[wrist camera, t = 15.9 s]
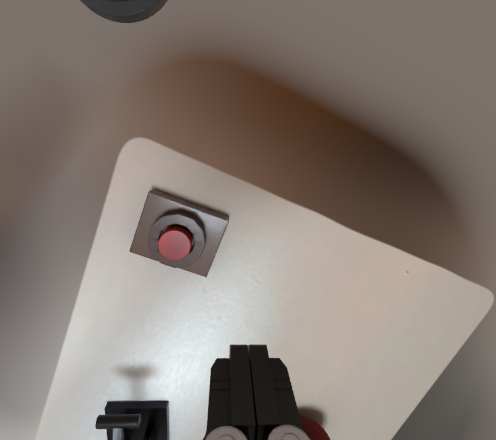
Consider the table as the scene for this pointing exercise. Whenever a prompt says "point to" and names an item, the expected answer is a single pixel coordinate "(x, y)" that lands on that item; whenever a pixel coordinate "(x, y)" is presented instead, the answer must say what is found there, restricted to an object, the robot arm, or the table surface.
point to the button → (175, 243)
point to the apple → (313, 430)
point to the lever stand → (142, 419)
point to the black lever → (118, 423)
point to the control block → (184, 215)
